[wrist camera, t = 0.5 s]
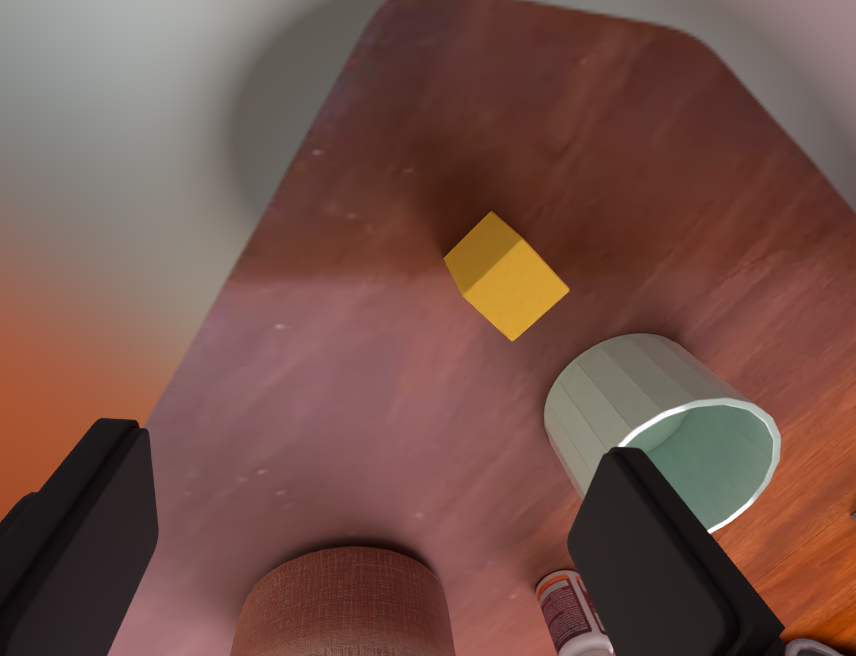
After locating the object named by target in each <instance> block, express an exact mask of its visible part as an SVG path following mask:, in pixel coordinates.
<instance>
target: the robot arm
mask: <svg viewBox="0 0 856 656" xmlns="http://www.w3.org/2000/svg"><path fill="white" fill-rule="evenodd" d="M157 540H158V519H157V509H156V499H155V489H154V479H153V469H152V459H151V449H150V439H149V432H148V430H147V429H145V428H139V424H138V422H137V421H136V420H127V419H109V418H101V419H98V420H97V421H96V422H95V423H94V424H93V425H92V426H91V428H90V429H89V430H88V431H87V433H86V434H85V435H84V436H83V438H82V439H81V440H80V441H79V442H78V444H77V445H76V446H75V448H74V449H73V450H72V451H71V452H70V454H69V455H68V456H67V457H66V458H65V460H64V461H63V462H62V463H61V465H60V466H59V467H58V468H57V470H56V471H55V472H54V473H53V474H52V476H51V477H50V478H49V479H48V481H47V482H46V483H45V484H44V485H43V487H42V488H41V489H40V490H39V492H31V493H30V494H28V495H26V496H24V497H23V498H22V499H21V500H20V501H19V502H18V503H17V504H16V505H15V506H14V507H13V508H12V509H11V510H10V512H9V513H8V514H7V515H6V517H5V518H4V519H3V520H2V521H1V522H0V656H107V654H108V652H109V650H110V648H111V646H112V643H113V641H114V639H115V637H116V635H117V632H118V630H119V628H120V626H121V623H122V621H123V619H124V617H125V615H126V612H127V610H128V608H129V606H130V604H131V601H132V599H133V597H134V595H135V592H136V590H137V588H138V586H139V584H140V581H141V579H142V577H143V575H144V573H145V570H146V568H147V566H148V564H149V562H150V559H151V557H152V555H153V553H154V550H155V547H156V544H157ZM567 544H568V550H569V553H570V556H571V558H572V560H573V562H574V564H575V567H576V569H577V571H578V573H579V575H580V578H581V580H582V582H583V584H584V586H585V588H586V591H587V593H588V595H589V597H590V599H591V601H592V604H593V606H594V608H595V610H596V612H597V615H598V617H599V619H600V621H601V623H602V625H603V628H604V630H605V632H606V634H607V636H608V638H609V641H610V643H611V645H612V647H613V649H614V652H615V654H616V656H843V655H841V654H840V653H838V652H837V651H835V650H834V649H832V648H831V647H828V646H826V645H824V644H822V643H819V642H817V641H814V640H810V639H805V638H799V639H793V640H792V641H791V642H790V643H789V644H788V645H787V646H786V644H785V643H784V642H783V641H782V639H781V638H780V637H779V635H780V634H781V633H782V631H783V630H784V629H785V627H784V626H783V624H782V623H781V622H780V621H779V619H778V618H777V617H776V616H775V614H774V613H773V612H772V611H771V609H770V608H769V607H768V606H767V604H766V603H765V602H764V601H763V599H762V598H761V597H760V596H759V594H758V593H757V592H756V591H755V589H754V588H753V587H752V586H751V584H750V583H749V582H748V581H747V579H746V578H745V577H744V576H743V574H742V573H741V572H740V571H739V569H738V568H737V567H736V566H735V564H734V563H733V562H732V561H731V559H730V558H729V557H728V556H727V554H726V553H725V552H724V551H723V549H722V548H721V547H720V546H719V544H718V543H717V542H716V541H715V539H714V538H713V537H712V536H711V534H710V533H709V532H708V531H707V529H706V528H705V527H704V526H703V524H702V523H701V522H700V521H699V519H698V518H697V517H696V516H695V514H694V513H693V512H692V511H691V510H690V508H689V507H688V506H687V505H686V503H685V502H684V501H683V500H682V498H681V497H680V496H679V495H678V493H677V492H676V491H675V490H674V488H673V487H672V486H671V485H670V483H669V482H668V481H667V480H666V478H665V477H664V476H663V475H662V473H661V472H660V471H659V470H658V468H657V467H656V466H655V465H654V463H653V462H652V461H651V460H650V458H649V457H648V456H647V455H646V453H645V452H644V451H643V450H642V449H640V448H634V447H612V448H611V449H610V450H609V452H608V453H605V454H603V456H602V458H601V460H600V462H599V465H598V467H597V469H596V472H595V474H594V476H593V479H592V481H591V483H590V486H589V488H588V490H587V493H586V495H585V497H584V500H583V502H582V504H581V507H580V509H579V512H578V514H577V516H576V519H575V521H574V523H573V526H572V528H571V530H570V533H569V535H568V540H567Z"/></svg>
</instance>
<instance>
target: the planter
mask: <svg viewBox="0 0 856 656" xmlns="http://www.w3.org/2000/svg"><path fill="white" fill-rule="evenodd" d="M230 656H456V655H455V649H454V642H453V636H452V630H451V623H450V618H449V612H448V607H447V602H446V598H445V594H444V591H443V588H442V586H441V584H440V582H439V581H438V579H437V578H436V577H435V575H434V574H433V573H432V572H431V571H430V570H429V569H427V568H426V567H425V566H424V565H422V564H421V563H419V562H418V561H416V560H414V559H412V558H410V557H408V556H405V555H403V554H400V553H397V552H394V551H391V550H387V549H382V548H375V547H366V546H344V547H335V548H327V549H322V550H318V551H315V552H311V553H308V554H305V555H302V556H299V557H297V558H294V559H292V560H290V561H288V562H286V563H284V564H282V565H281V566H279V567H277V568H275V569H274V570H272V571H271V572H270V573H268V574H267V575H266V576H264V577H263V578H262V579H261V580H260V581H259V582H258V583H257V584H256V585H255V586H254V587H253V589H252V590H251V591H250V593H249V594H248V596H247V598H246V600H245V602H244V604H243V607H242V610H241V613H240V617H239V620H238V624H237V628H236V632H235V636H234V640H233V645H232V650H231V654H230Z"/></svg>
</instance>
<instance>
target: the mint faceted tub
mask: <svg viewBox="0 0 856 656" xmlns="http://www.w3.org/2000/svg"><path fill="white" fill-rule="evenodd" d="M544 426H545V430H546V434H547V436H548V438H549V441H550V444H551V445H552V447H553V449H554V451H555V453H556V455H557V456H558V458H559V460H560V462H561V464H562V466H563V467H564V469H565V471H566V473H567V475H568V477H569V478H570V480H571V482H572V484H573V486H574V487H575V489H576V491H577V493H578V495H579V497H580V498H581V500H582V502H583V500H584V497H585V495H586V493H587V490H588V488H589V486H590V483H591V481H592V479H593V476H594V474H595V472H596V469H597V467H598V465H599V462H600V460H601V458H602V456H603V454H605V453H608V452H609V450H610V449H611V448H612V447H634V448H640V449H642V450H643V451H644V452H645V453H646V455H647V456H648V457H649V458H650V460H651V461H652V462H653V463H654V465H655V466H656V467H657V468H658V470H659V471H660V472H661V473H662V475H663V476H664V477H665V478H666V480H667V481H668V482H669V483H670V485H671V486H672V487H673V488H674V490H675V491H676V492H677V493H678V495H679V496H680V497H681V498H682V500H683V501H684V502H685V503H686V505H687V506H688V507H689V508H690V510H691V511H692V512H693V513H694V514H695V516H696V517H697V518H698V519H699V521H700V522H701V523H702V524H703V526H704V527H705V528H706V529H707V531H708V532H709V533H712V532H714V531H715V530H717V529H719V528H721V527H723V526H725V525H726V524H728V523H730V522H731V521H732V520H733V519H735V518H736V517H737V516H738V515H740V514H741V513H742V512H743V511H744V510H746V509H747V508H748V507H749V506H751V504H753V502H754V501H755V500H756V499H757V498H758V496H759V495H760V494H761V493H762V491H763V490H764V489H765V488H766V486H767V485H768V484H769V482H770V480H771V478H772V476H773V474H774V471H775V469H776V467H777V465H778V462H779V459H780V447H781V436H780V433H779V431H778V429H777V426H776V424H775V422H774V420H773V418H772V416H770V415H769V414H768V413H766V412H765V411H764V410H763V409H761V408H760V407H759V406H757V405H756V404H755V403H754V402H752V401H751V400H750V399H748V398H747V397H746V396H745V395H743V394H742V393H741V392H739V391H738V390H737V389H736V388H734V387H733V386H732V385H730V384H729V383H728V382H727V381H725V380H724V379H723V378H721V377H720V376H719V375H718V374H716V373H715V372H714V371H712V370H711V369H710V368H709V367H707V366H706V365H705V364H703V363H702V362H701V361H700V360H698V359H697V358H696V357H694V356H693V355H692V354H691V353H689V352H688V351H687V350H685V349H684V348H683V347H682V346H680V345H679V344H678V343H676V342H674V341H673V340H671V339H668V338H666V337H663V336H660V335H656V334H649V333H634V334H625V335H621V336H617V337H613V338H611V339H608V340H605V341H603V342H601V343H598V344H596V345H594V346H593V347H591V348H589V349H588V350H586V351H584V352H583V353H582V354H580V355H579V356H578V357H576V358H575V359H574V360H573V361H572V362H571V363H570V364H569V365H568V366H567V367H566V368H565V369H564V370H563V371H562V372H561V374H560V375H559V376H558V378H557V379H556V381H555V382H554V384H553V386H552V388H551V390H550V391H549V394H548V397H547V400H546V403H545V408H544Z"/></svg>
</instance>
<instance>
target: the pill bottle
mask: <svg viewBox="0 0 856 656" xmlns="http://www.w3.org/2000/svg"><path fill="white" fill-rule="evenodd" d="M536 595H537V598H538V601H539V604H540V607H541V610H542V613H543V615H544V618H545V621H546V624H547V626H548V629H549V632H550V635H551V637H552V640H553V643H554V646H555V650H556V652H557V655H558V656H614V655H613V654H612V653H613V647H612V645H611V643H610V641H609V638H608V636H607V634H606V632H605V630H604V628H603V625H602V623H601V621H600V619H599V617H598V615H597V612H596V610H595V608H594V606H593V604H592V601H591V599H590V597H589V595H588V593H587V591H586V588H585V586H584V584H583V582H582V580H581V578H580V575H579V574H578V573H577V572H574V571H569V570H563V571H557V572H554V573H552V574H550V575H548V576H547V577H545V578H544V579H543V580H542V581H541V582H540V583H539V585H538V586H537V589H536Z"/></svg>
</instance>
